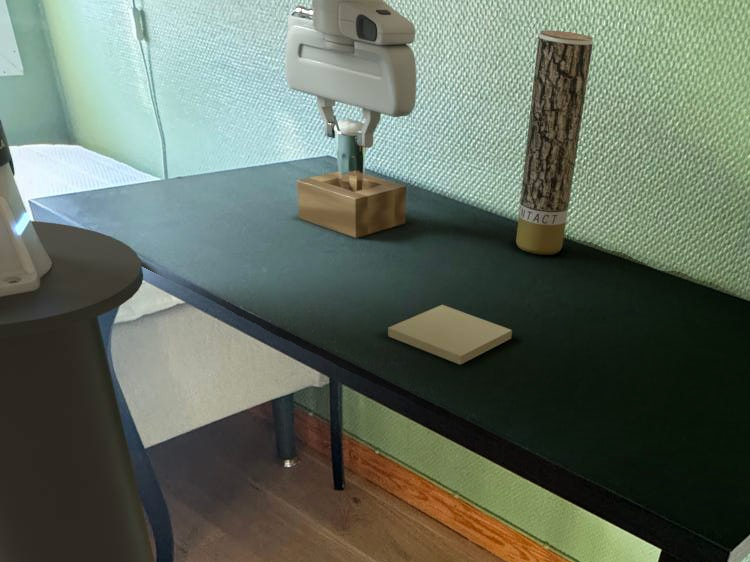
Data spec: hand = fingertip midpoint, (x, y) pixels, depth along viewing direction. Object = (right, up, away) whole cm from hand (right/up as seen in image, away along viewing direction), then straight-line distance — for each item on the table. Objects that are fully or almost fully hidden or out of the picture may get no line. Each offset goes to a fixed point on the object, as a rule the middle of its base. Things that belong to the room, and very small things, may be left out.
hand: (349, 141), depth 111 cm
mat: (+15, -35, -21) cm, 43 cm away
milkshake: (-1, -5, +5) cm, 7 cm away
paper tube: (+27, -12, +5) cm, 30 cm away
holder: (-1, -7, +7) cm, 10 cm away
